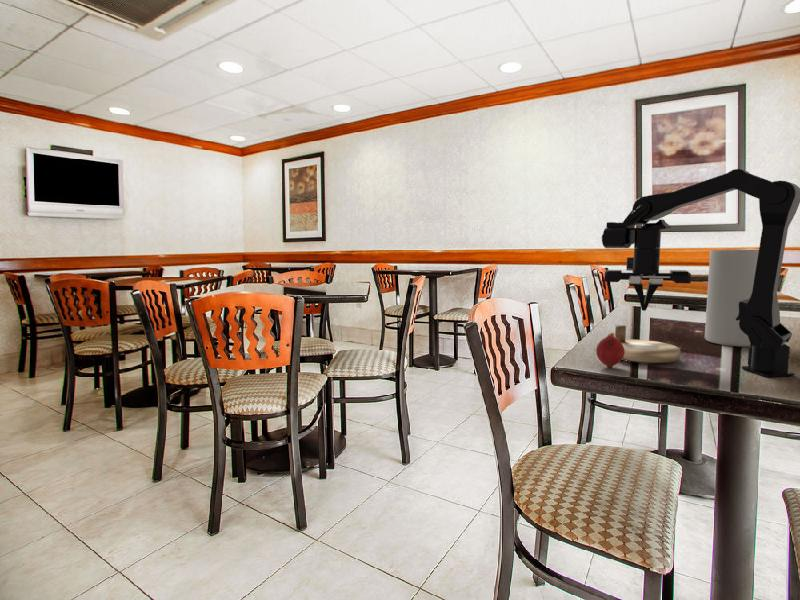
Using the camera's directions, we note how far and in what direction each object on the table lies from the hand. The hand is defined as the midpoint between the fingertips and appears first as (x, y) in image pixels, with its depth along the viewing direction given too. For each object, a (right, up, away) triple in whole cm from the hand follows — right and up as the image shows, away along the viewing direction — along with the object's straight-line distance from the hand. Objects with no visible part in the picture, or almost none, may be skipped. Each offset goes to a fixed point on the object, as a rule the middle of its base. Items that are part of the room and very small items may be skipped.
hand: (643, 310), depth 115 cm
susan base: (-3, -11, -4) cm, 12 cm away
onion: (-14, -13, -11) cm, 22 cm away
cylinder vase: (+29, -9, +10) cm, 32 cm away
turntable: (-3, -11, -4) cm, 12 cm away
